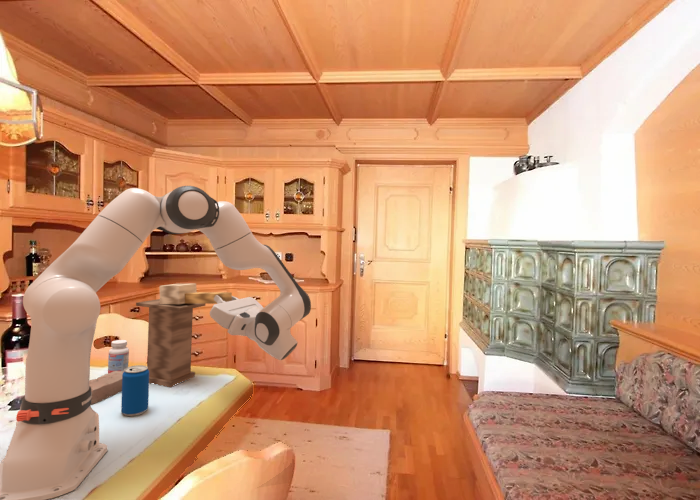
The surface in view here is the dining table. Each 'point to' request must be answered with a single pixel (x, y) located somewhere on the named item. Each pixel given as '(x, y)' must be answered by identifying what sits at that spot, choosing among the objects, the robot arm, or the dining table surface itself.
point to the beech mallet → (189, 295)
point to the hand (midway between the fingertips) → (220, 295)
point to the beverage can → (135, 390)
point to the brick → (106, 386)
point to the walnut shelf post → (169, 341)
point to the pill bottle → (118, 356)
